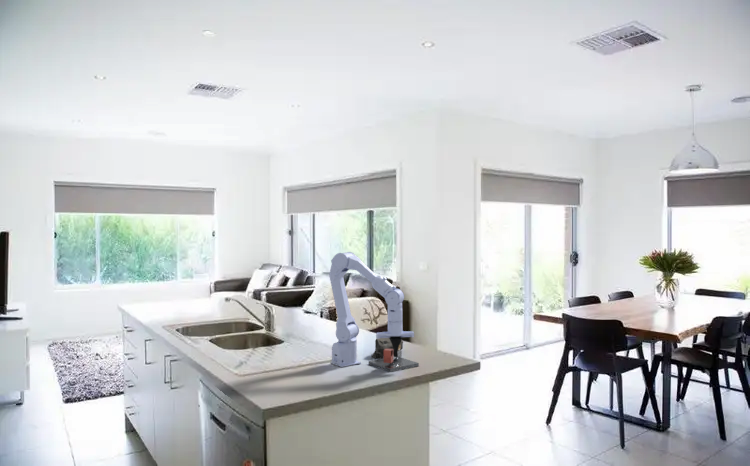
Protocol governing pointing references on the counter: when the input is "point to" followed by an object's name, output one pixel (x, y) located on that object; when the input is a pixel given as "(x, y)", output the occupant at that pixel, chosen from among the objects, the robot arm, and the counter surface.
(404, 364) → the base
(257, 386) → the counter surface
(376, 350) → the stone
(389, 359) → the lever
